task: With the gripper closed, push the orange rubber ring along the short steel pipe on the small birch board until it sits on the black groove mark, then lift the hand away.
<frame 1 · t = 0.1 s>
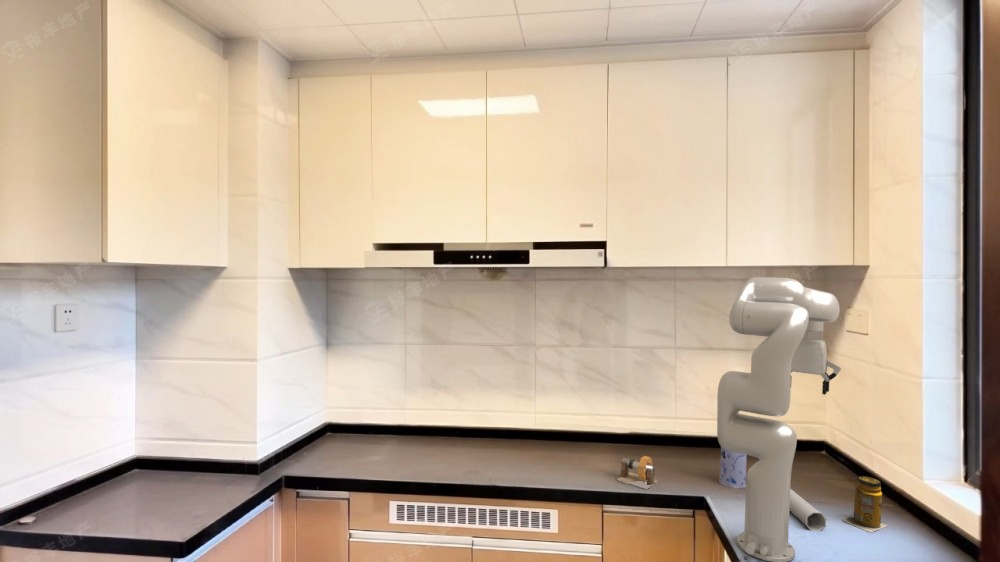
hand: (806, 391, 161), 31 cm above the worktop, tool pointing down, fingers open, 9 cm apart
base board: (637, 481, 166), on the worktop
aerosol can: (732, 483, 167), on the worktop
o ring: (645, 468, 165), point 5 cm above the worktop, slide at 0.0 cm
pipe: (637, 465, 166), point 5 cm above the worktop
condiment: (864, 524, 142), on the worktop
tube: (791, 510, 150), on the worktop
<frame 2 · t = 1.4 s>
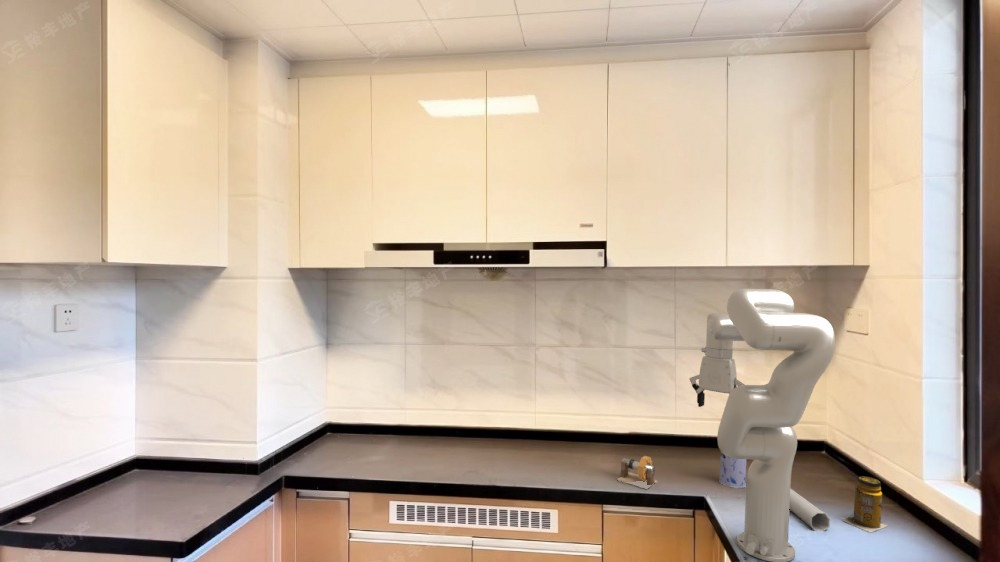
hand: (716, 409, 160), 25 cm above the worktop, tool pointing down, fingers open, 9 cm apart
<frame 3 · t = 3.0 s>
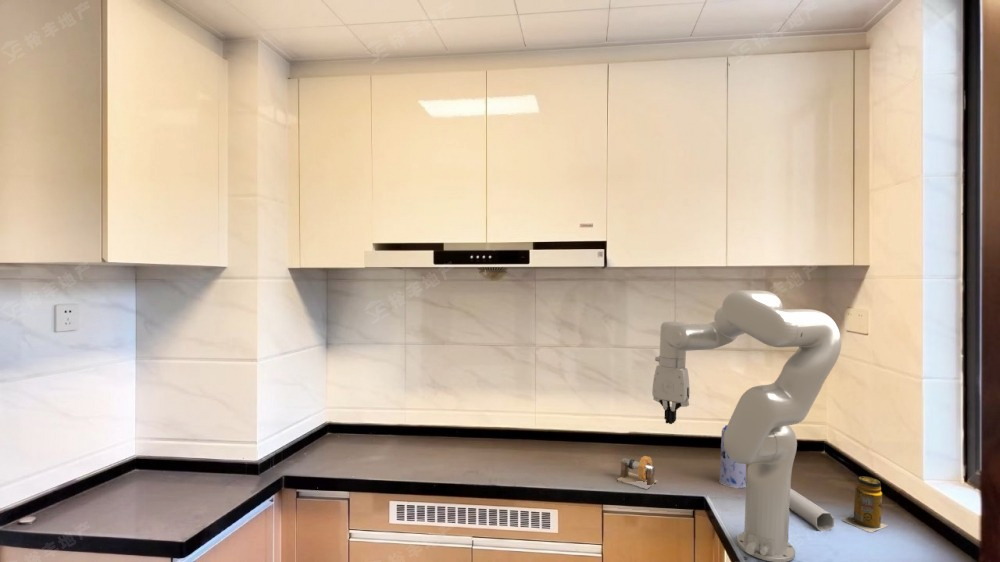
hand: (670, 422, 159), 21 cm above the worktop, tool pointing down, fingers closed
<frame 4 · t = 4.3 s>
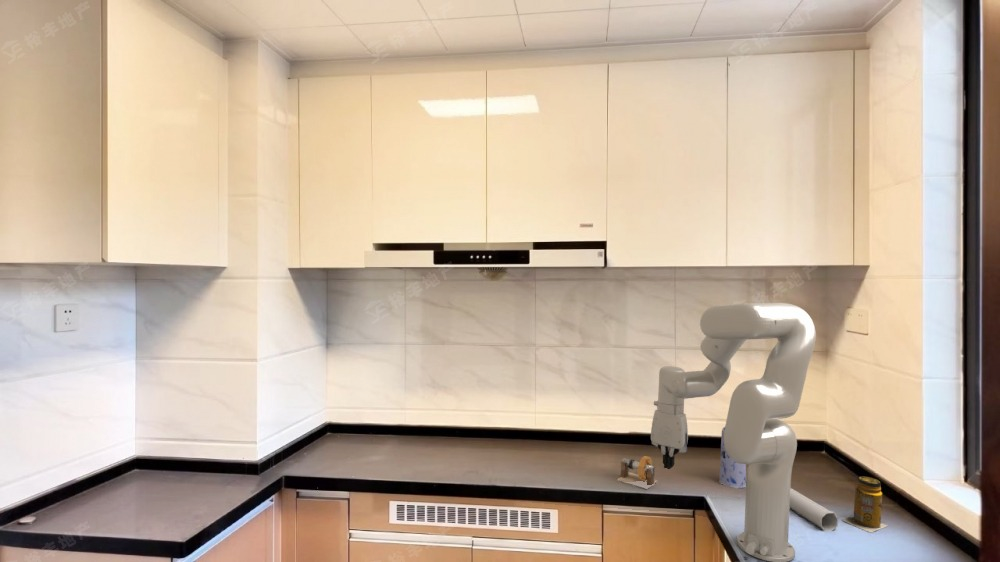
hand: (668, 467, 160), 7 cm above the worktop, tool pointing down, fingers closed
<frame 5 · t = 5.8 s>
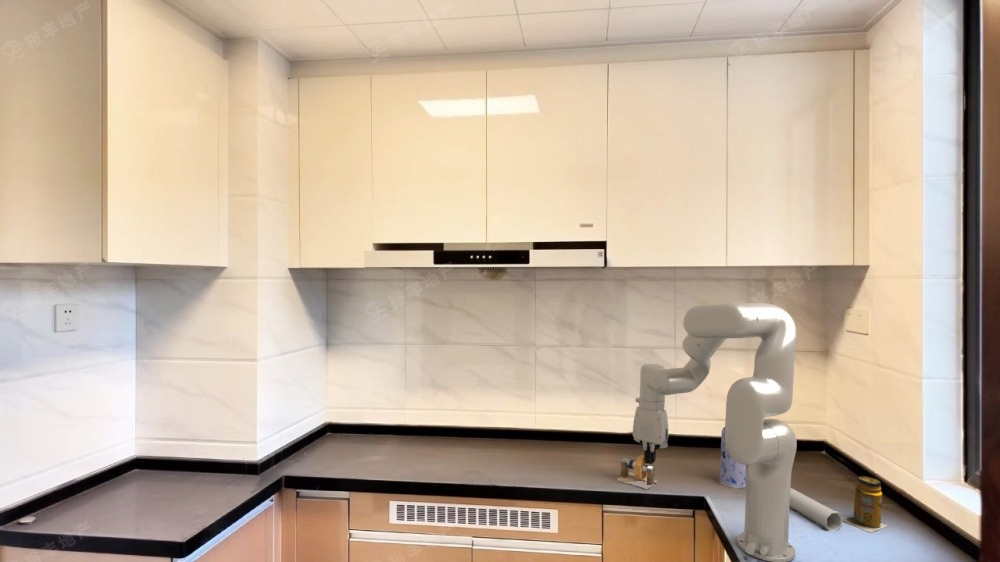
hand: (649, 462, 164), 7 cm above the worktop, tool pointing down, fingers closed
o ring: (641, 467, 165), point 5 cm above the worktop, slide at 1.1 cm, touching gripper
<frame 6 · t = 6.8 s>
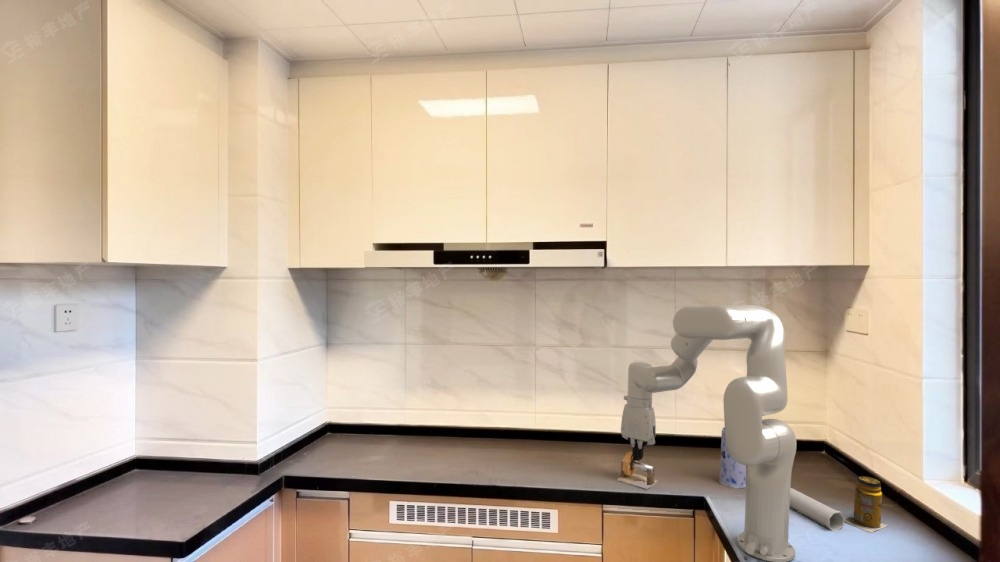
hand: (637, 459, 166), 7 cm above the worktop, tool pointing down, fingers closed
o ring: (630, 463, 168), point 5 cm above the worktop, slide at 5.1 cm, touching gripper
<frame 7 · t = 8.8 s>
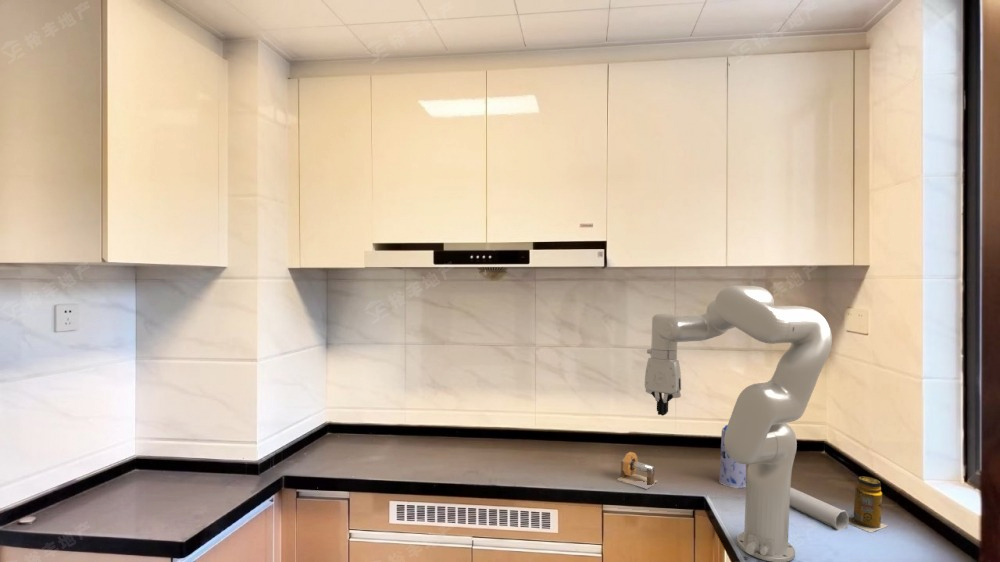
hand: (662, 414, 161), 23 cm above the worktop, tool pointing down, fingers closed
o ring: (630, 463, 168), point 5 cm above the worktop, slide at 5.1 cm
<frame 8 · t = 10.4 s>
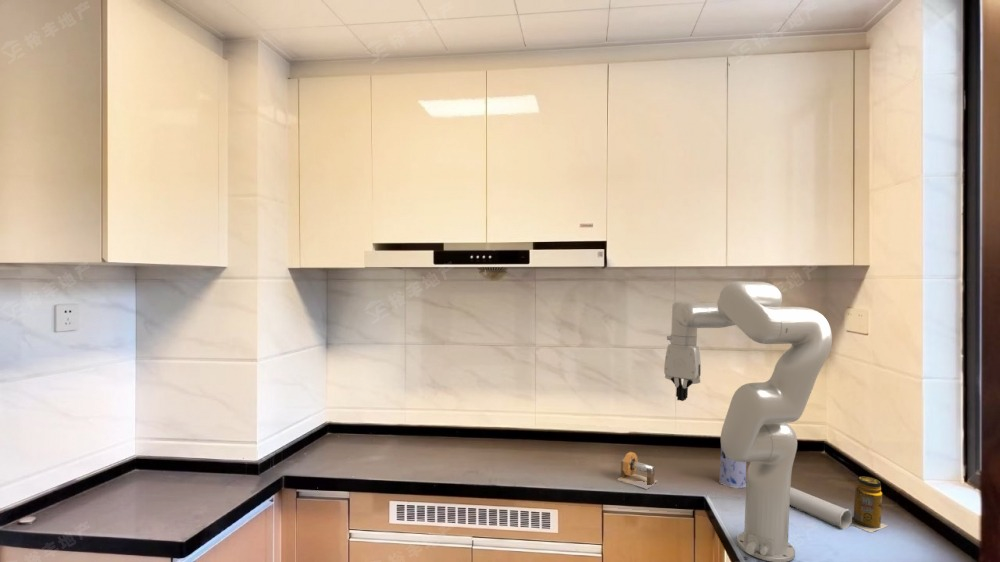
hand: (681, 399, 163), 27 cm above the worktop, tool pointing down, fingers closed
at the end: o ring slide at 5.1 cm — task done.
